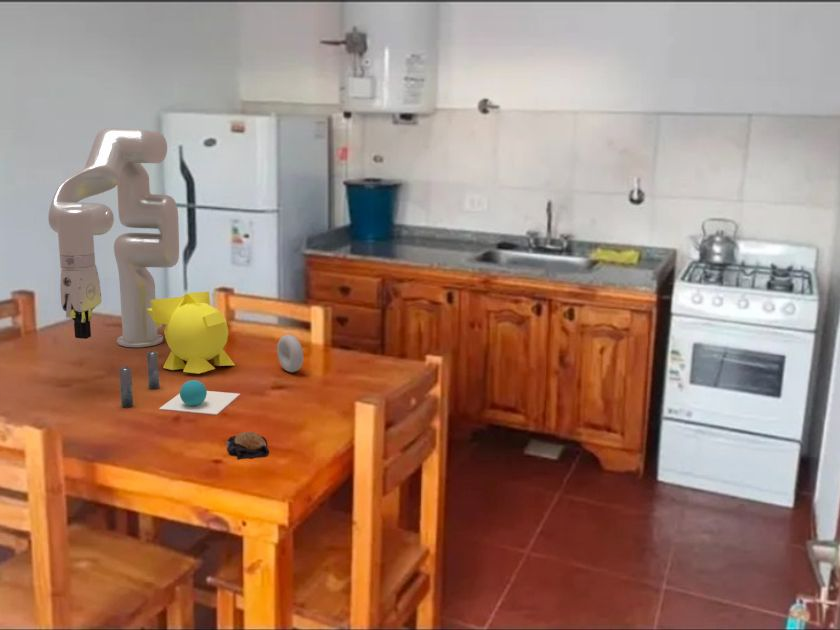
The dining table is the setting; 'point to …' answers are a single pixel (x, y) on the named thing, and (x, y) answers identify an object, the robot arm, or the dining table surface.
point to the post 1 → (126, 387)
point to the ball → (193, 393)
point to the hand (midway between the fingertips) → (83, 337)
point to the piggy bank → (192, 332)
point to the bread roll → (247, 446)
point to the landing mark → (209, 406)
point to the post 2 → (153, 370)
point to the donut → (290, 353)
